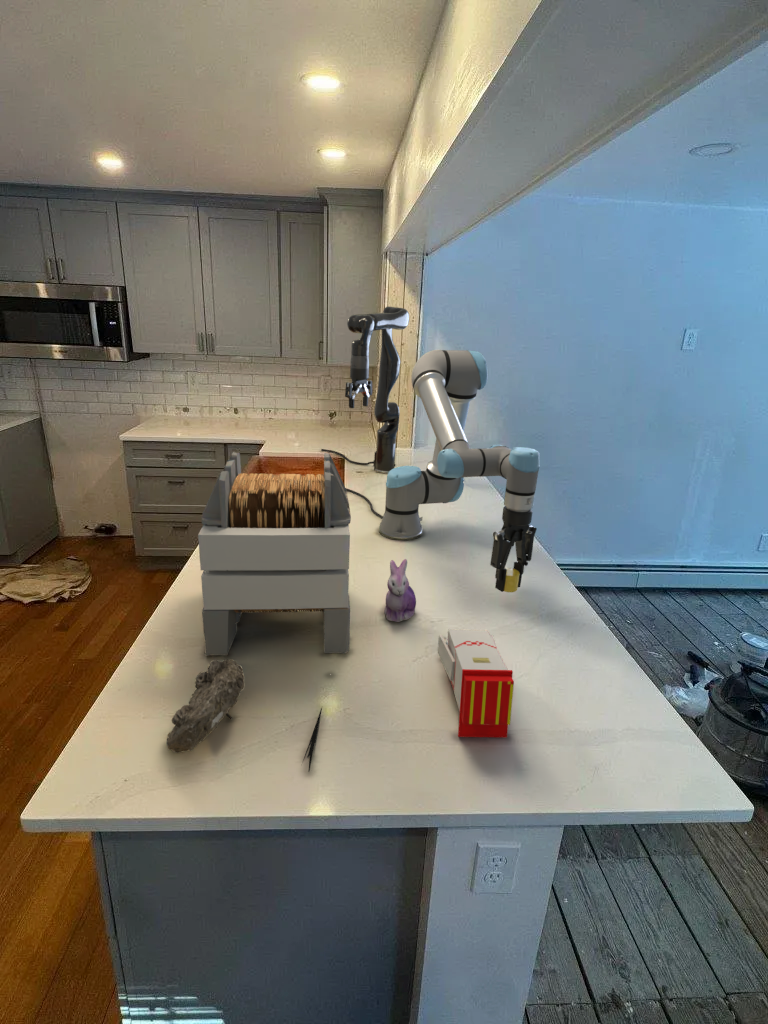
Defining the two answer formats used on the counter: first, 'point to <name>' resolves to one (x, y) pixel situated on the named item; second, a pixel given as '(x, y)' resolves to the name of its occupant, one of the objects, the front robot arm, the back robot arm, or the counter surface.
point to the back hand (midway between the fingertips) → (358, 407)
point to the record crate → (275, 551)
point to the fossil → (206, 705)
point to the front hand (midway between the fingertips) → (507, 587)
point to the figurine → (399, 594)
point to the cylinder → (511, 580)
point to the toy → (478, 682)
